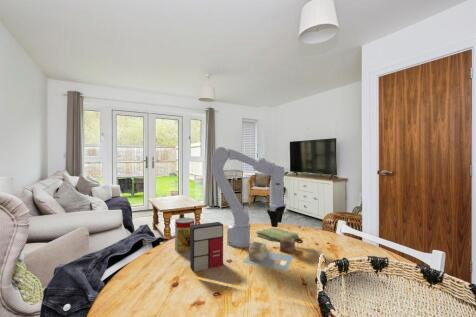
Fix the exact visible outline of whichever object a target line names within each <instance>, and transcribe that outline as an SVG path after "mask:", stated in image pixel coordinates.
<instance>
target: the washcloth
mask: <svg viewBox="0 0 476 317" xmlns="http://www.w3.org/2000/svg"><path fill="white" fill-rule="evenodd" d="M255 233H256V234H257V237H258V238H262V239H264V240H268V241H271V242H275V243H280V241H281V239H282V238H283V237H284V238H291V239H295V241H296V240H298V239H299V238H300V237H299V235H298V233H297V232H294V231H288V230H284V229H281V228H277V227H271V228H263V229H261V230H256V232H255Z"/></svg>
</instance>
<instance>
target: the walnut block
mask: <svg viewBox="0 0 476 317" xmlns="http://www.w3.org/2000/svg"><path fill="white" fill-rule="evenodd" d="M295 249H296V240H295V239H291V238H284V237H283V238H282V239H281V241H280V242H279V251H280V252H281V253H288V254H294V252H295Z"/></svg>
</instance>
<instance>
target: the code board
mask: <svg viewBox="0 0 476 317" xmlns="http://www.w3.org/2000/svg"><path fill="white" fill-rule="evenodd" d="M293 259H294V255H290V254H283V253H277V252H270V251H266V258H265V259H264V260H263V262H259V261H253V260H249V255H248V256H247V257H246V258H245V259H244V260H242V263H244V264H249V265H254V266H259V267H265V268H269V269H275V270H280V271H285V272H288V270H289V268H290V265H291V263H292V261H293Z"/></svg>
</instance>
